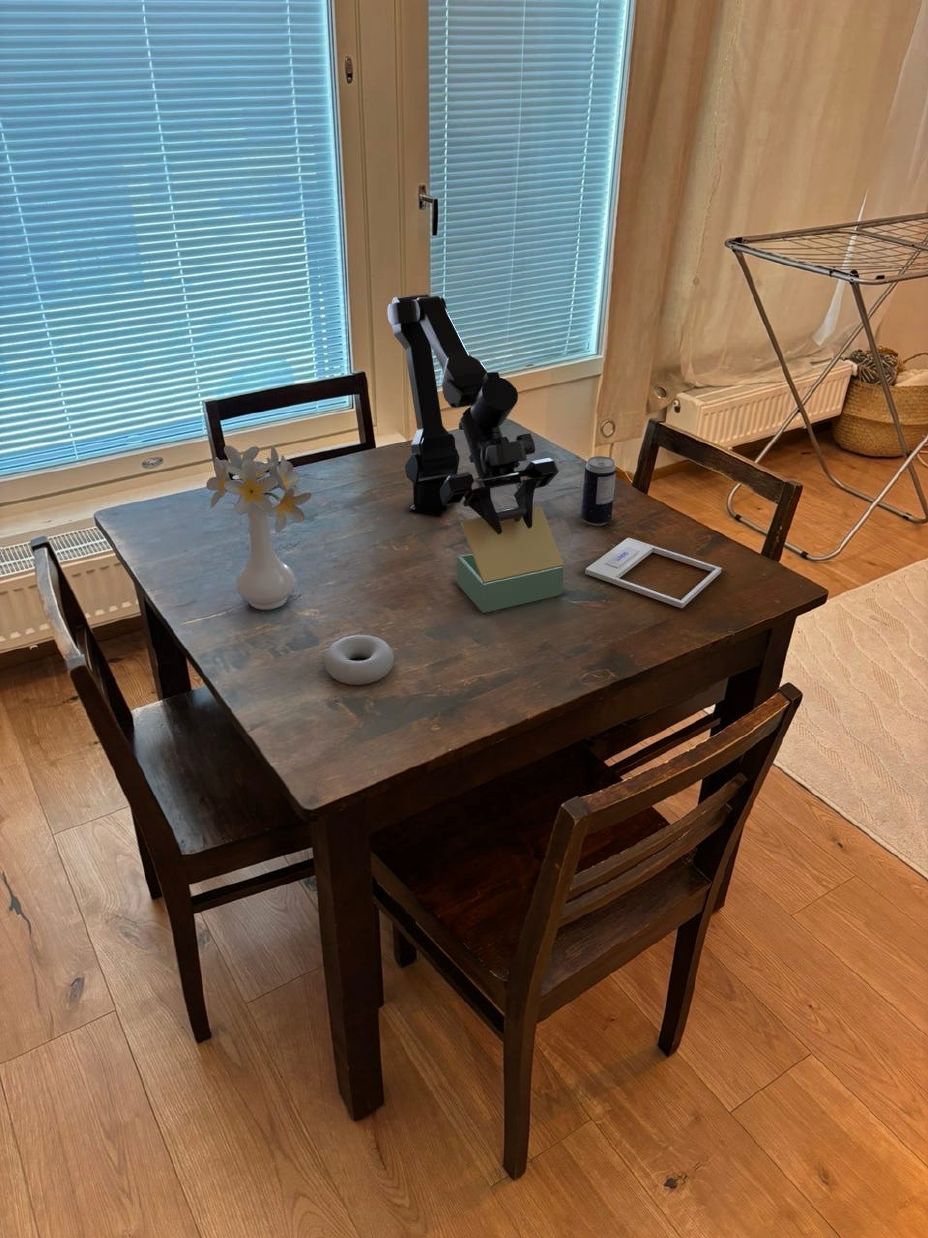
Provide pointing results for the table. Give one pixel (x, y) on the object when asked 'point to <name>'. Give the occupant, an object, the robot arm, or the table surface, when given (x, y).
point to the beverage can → (598, 490)
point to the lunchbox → (506, 586)
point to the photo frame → (631, 555)
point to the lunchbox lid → (512, 545)
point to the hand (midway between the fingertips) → (515, 530)
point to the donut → (359, 671)
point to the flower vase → (261, 519)
